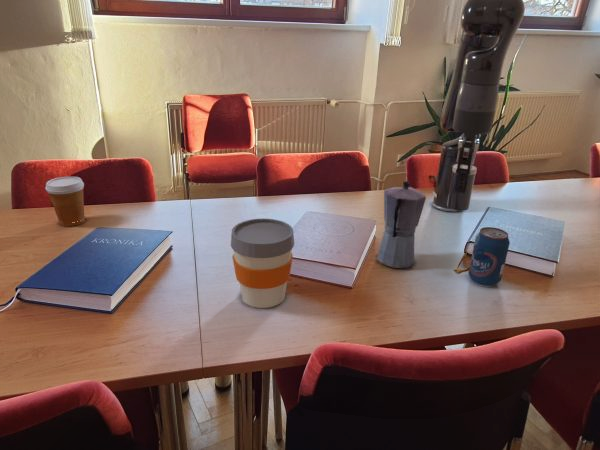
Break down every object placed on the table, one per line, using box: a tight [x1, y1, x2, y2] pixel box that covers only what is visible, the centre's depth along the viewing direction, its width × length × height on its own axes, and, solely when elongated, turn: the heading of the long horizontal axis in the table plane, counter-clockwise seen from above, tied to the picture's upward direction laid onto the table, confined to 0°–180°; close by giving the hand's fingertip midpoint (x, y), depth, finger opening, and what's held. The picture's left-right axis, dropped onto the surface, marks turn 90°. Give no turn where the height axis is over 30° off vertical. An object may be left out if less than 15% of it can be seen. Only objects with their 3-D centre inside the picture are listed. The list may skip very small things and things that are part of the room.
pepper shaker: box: [447, 164, 478, 212], centre depth 95 cm, size 5×5×9 cm
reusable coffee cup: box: [230, 218, 295, 309], centre depth 89 cm, size 13×13×15 cm
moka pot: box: [376, 180, 427, 269], centre depth 103 cm, size 10×15×20 cm, turn 161°
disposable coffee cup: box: [44, 176, 86, 227], centre depth 122 cm, size 10×10×12 cm
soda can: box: [468, 226, 511, 288], centre depth 98 cm, size 7×7×12 cm
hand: (461, 187), depth 95 cm, fingers closed on pepper shaker, 4 cm apart
